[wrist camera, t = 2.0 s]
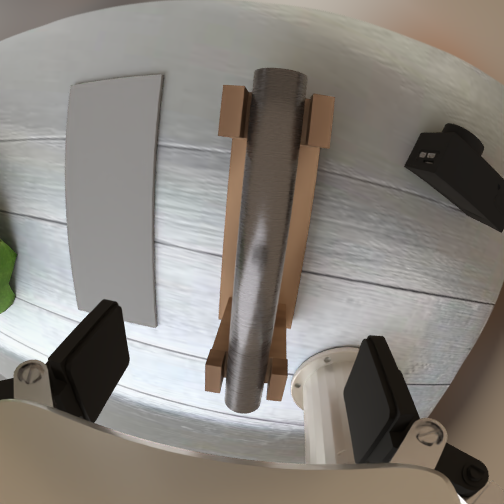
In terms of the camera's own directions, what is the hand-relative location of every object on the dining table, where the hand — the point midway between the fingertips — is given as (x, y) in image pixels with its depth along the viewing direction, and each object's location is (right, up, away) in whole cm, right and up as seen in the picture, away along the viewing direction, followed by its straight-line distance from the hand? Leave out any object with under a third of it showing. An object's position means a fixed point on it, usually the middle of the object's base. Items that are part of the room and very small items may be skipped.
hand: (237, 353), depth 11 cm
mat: (-16, +9, +20) cm, 27 cm away
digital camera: (+22, +13, +16) cm, 30 cm away
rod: (+1, +3, +10) cm, 10 cm away
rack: (+2, +7, +20) cm, 21 cm away
